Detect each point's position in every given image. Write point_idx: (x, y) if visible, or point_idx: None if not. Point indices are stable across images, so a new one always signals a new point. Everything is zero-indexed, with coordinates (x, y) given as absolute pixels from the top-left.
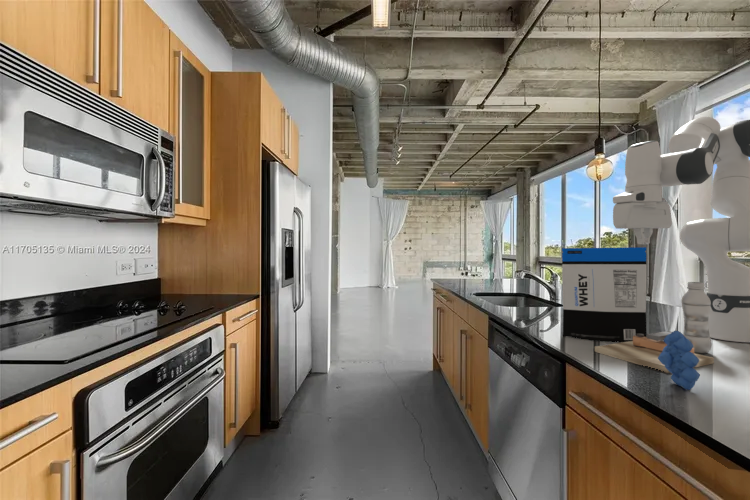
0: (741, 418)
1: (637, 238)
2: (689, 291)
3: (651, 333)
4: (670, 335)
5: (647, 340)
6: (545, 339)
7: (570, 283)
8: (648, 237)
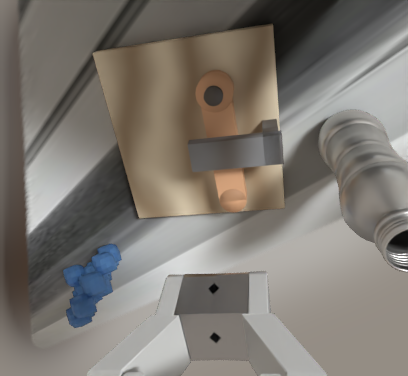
0: (95, 325)
1: (156, 316)
2: (373, 220)
3: (205, 142)
4: (70, 303)
5: (205, 124)
6: None
7: None
8: (251, 365)
